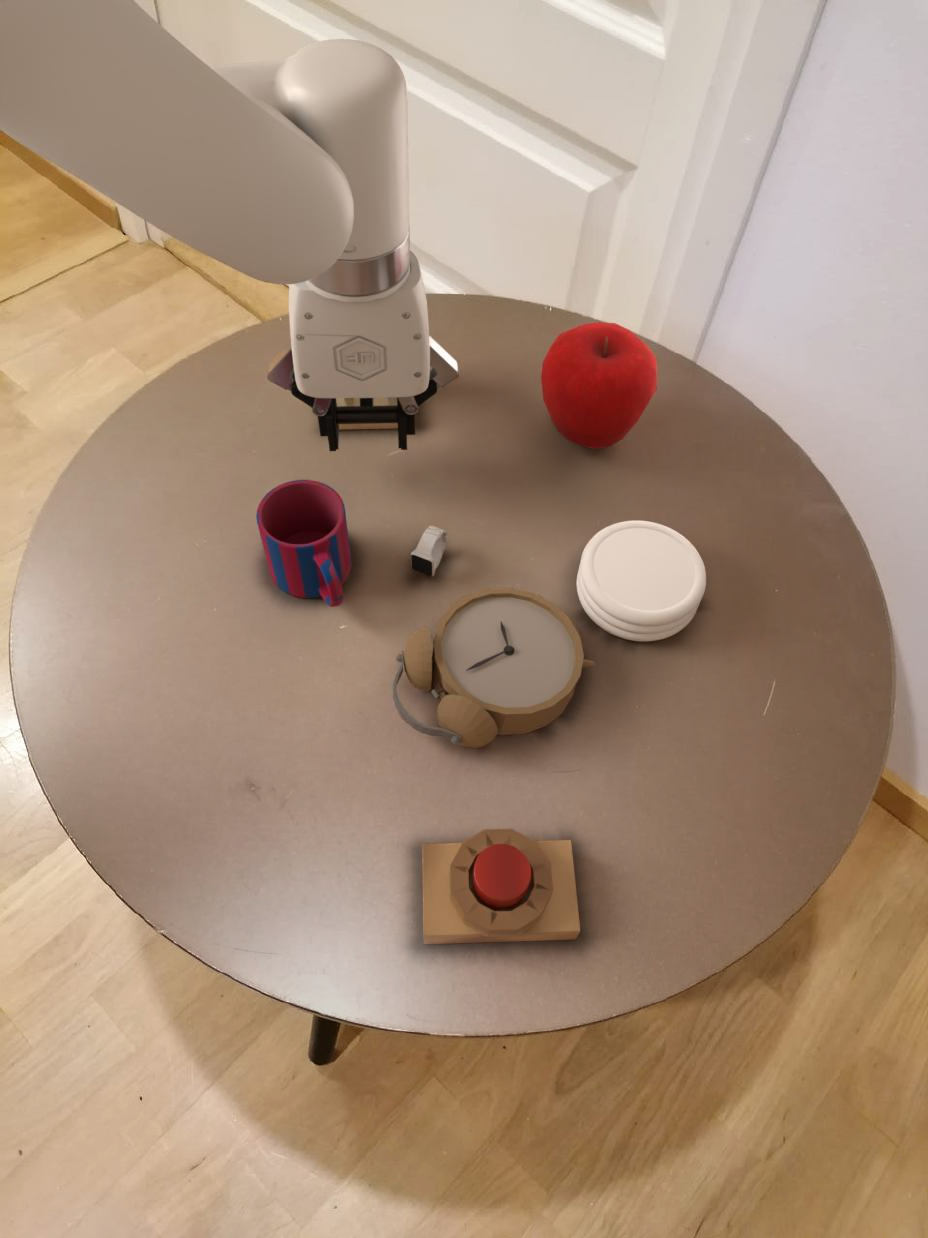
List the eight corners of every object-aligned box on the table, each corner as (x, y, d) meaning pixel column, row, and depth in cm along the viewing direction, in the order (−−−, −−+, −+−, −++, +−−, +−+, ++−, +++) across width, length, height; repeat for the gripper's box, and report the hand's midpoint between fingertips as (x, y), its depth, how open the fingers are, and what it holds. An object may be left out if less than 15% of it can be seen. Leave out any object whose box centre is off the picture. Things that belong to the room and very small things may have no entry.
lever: (398, 428, 78) (397, 416, 75) (337, 429, 77) (335, 417, 75) (394, 285, 80) (393, 269, 78) (335, 286, 80) (333, 270, 78)
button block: (423, 948, 61) (423, 932, 57) (422, 851, 64) (421, 830, 61) (576, 943, 61) (585, 927, 58) (566, 847, 65) (574, 826, 61)
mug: (338, 524, 79) (331, 470, 74) (373, 618, 74) (368, 568, 69) (260, 544, 78) (247, 491, 72) (290, 641, 73) (278, 592, 67)
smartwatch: (428, 544, 78) (428, 514, 75) (452, 552, 78) (452, 523, 75) (410, 576, 77) (409, 547, 73) (434, 585, 76) (433, 556, 73)
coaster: (714, 633, 75) (726, 609, 72) (594, 653, 73) (601, 630, 70) (674, 535, 80) (683, 509, 77) (561, 552, 78) (566, 526, 75)
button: (474, 909, 59) (475, 901, 57) (471, 853, 61) (472, 844, 59) (531, 907, 59) (533, 899, 57) (526, 851, 61) (529, 842, 59)
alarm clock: (617, 671, 69) (447, 752, 62) (597, 707, 73) (435, 787, 66) (531, 565, 74) (365, 630, 67) (517, 604, 78) (358, 669, 71)
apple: (516, 444, 85) (527, 350, 76) (562, 380, 90) (577, 284, 80) (616, 486, 83) (639, 395, 73) (657, 418, 87) (684, 324, 78)
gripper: (222, 286, 61) (263, 474, 76) (483, 284, 62) (472, 470, 77) (231, 216, 65) (268, 407, 80) (476, 215, 66) (467, 404, 81)
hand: (368, 436), depth 79 cm, fingers closed on lever, 5 cm apart
